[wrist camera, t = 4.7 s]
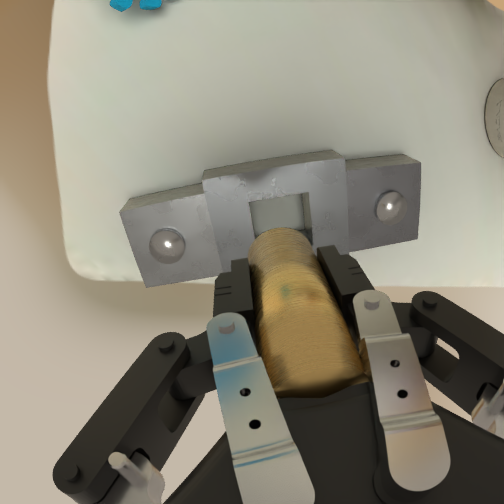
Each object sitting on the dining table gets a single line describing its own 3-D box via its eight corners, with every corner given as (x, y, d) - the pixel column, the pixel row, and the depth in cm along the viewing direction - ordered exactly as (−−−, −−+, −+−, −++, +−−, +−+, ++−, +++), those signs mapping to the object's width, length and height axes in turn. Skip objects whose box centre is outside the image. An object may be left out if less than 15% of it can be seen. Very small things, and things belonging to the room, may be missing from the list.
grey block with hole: (403, 143, 25) (424, 151, 22) (401, 234, 29) (419, 251, 26) (126, 188, 25) (113, 202, 22) (155, 278, 30) (148, 300, 26)
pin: (310, 222, 14) (379, 357, 7) (313, 279, 16) (365, 419, 9) (242, 233, 14) (255, 380, 7) (252, 289, 16) (268, 438, 9)
